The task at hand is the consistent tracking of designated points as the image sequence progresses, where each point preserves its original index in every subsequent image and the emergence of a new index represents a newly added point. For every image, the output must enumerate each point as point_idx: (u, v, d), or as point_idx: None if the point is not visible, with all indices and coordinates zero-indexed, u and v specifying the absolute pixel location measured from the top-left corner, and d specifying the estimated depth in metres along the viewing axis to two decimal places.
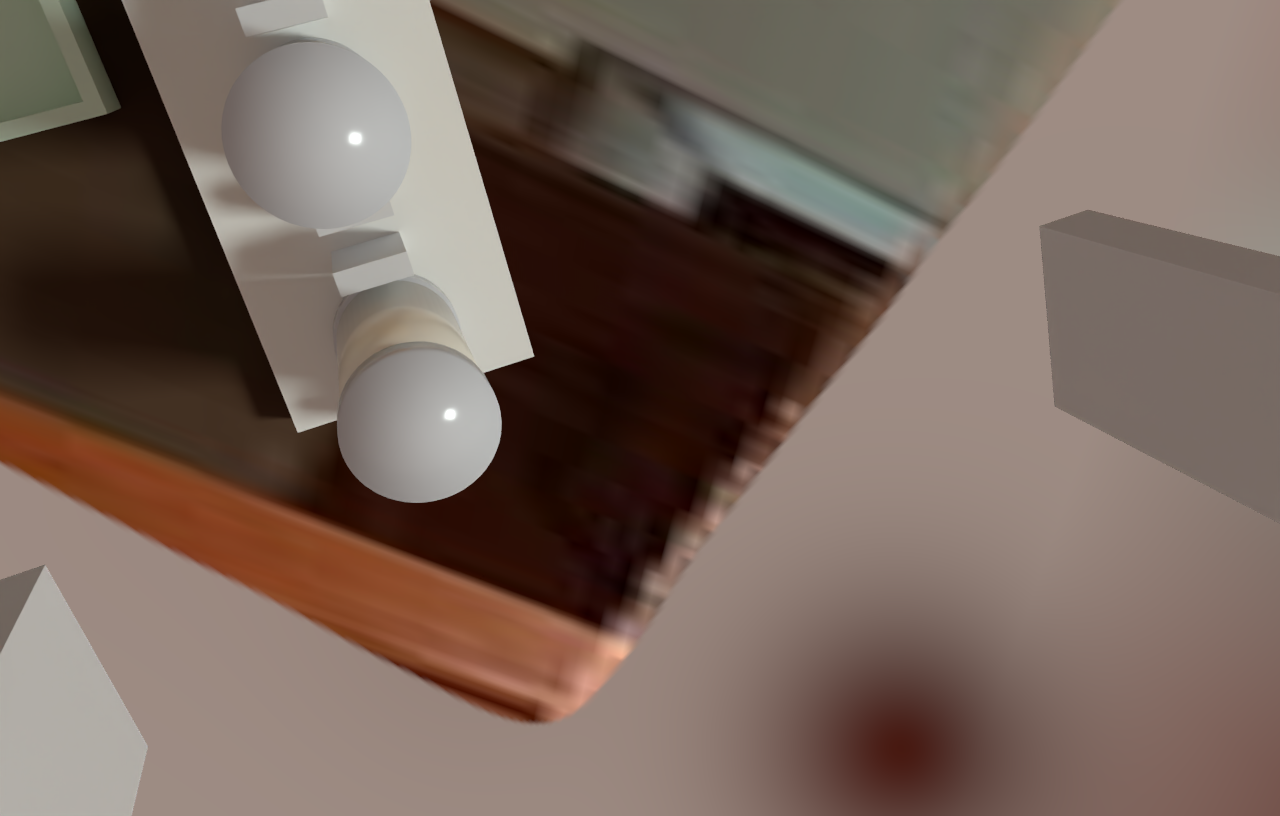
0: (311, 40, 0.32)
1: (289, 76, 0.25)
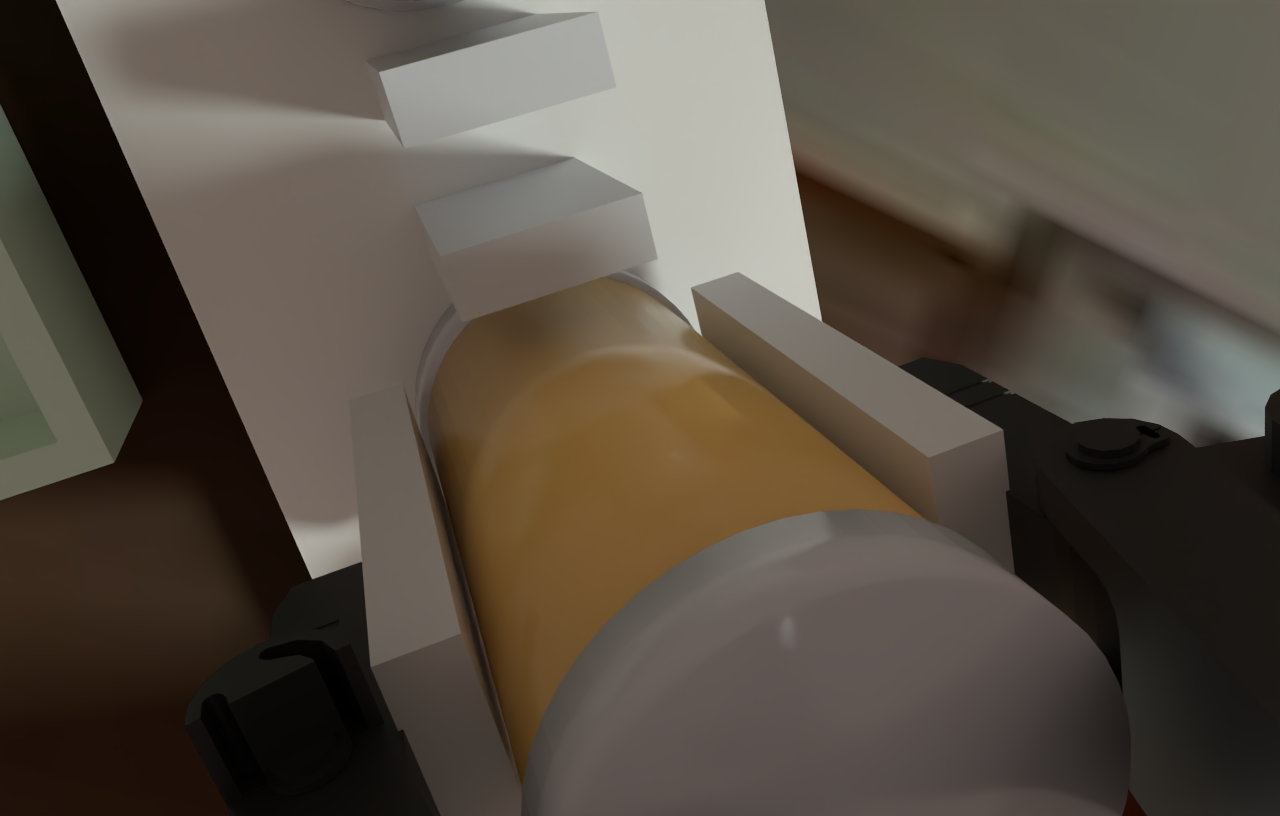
0: None
1: (801, 699, 0.07)
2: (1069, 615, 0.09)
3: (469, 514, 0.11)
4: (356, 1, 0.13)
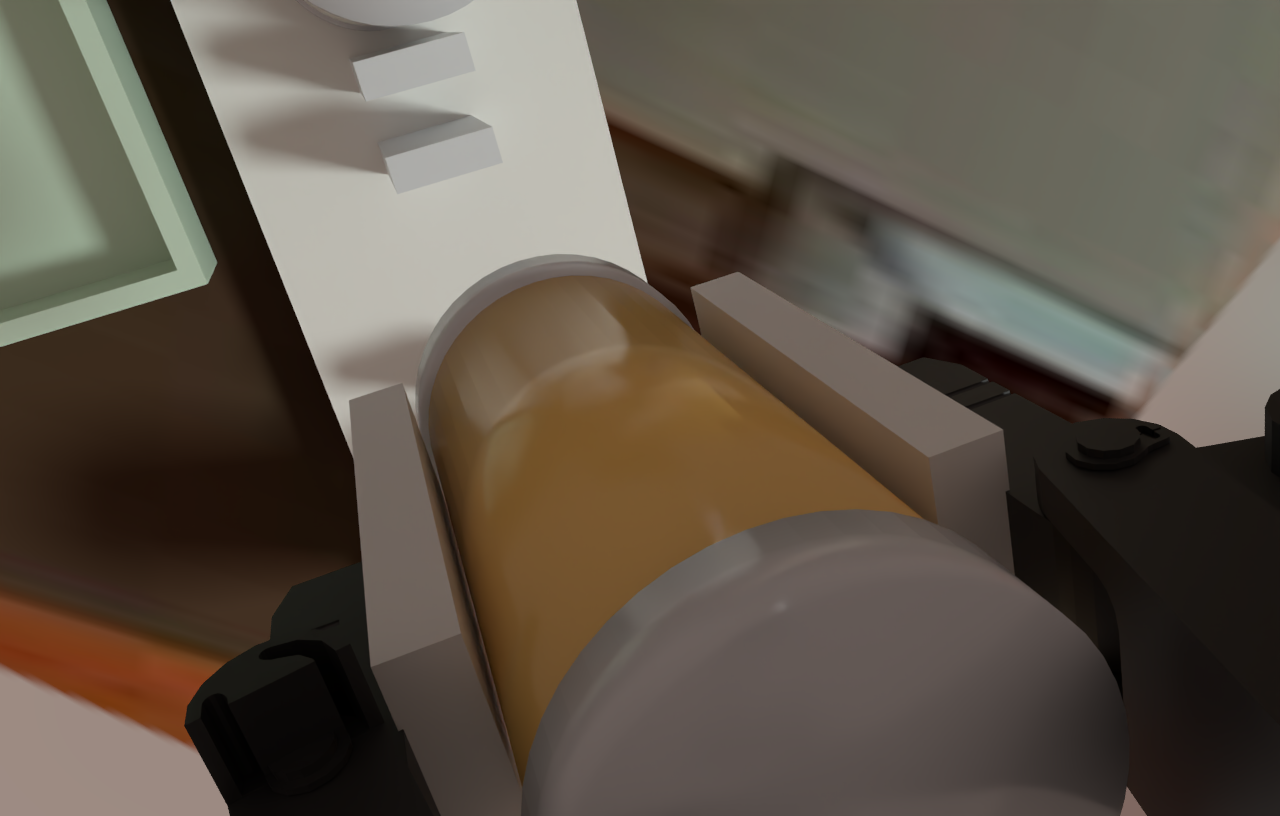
0: (568, 274, 0.15)
1: (801, 698, 0.07)
2: (1069, 615, 0.09)
3: (469, 514, 0.11)
4: (343, 26, 0.23)
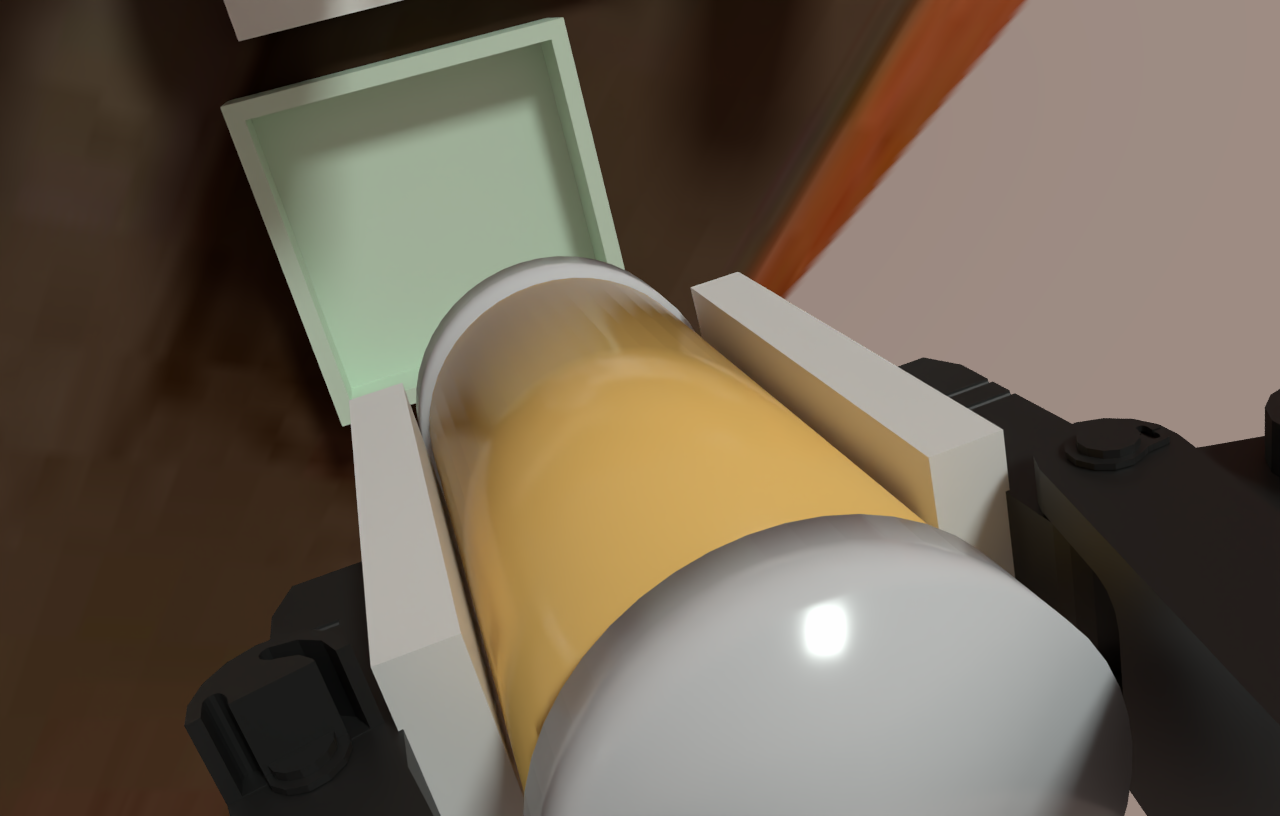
0: (569, 276, 0.15)
1: (803, 703, 0.07)
2: (1069, 615, 0.09)
3: (470, 517, 0.11)
4: None
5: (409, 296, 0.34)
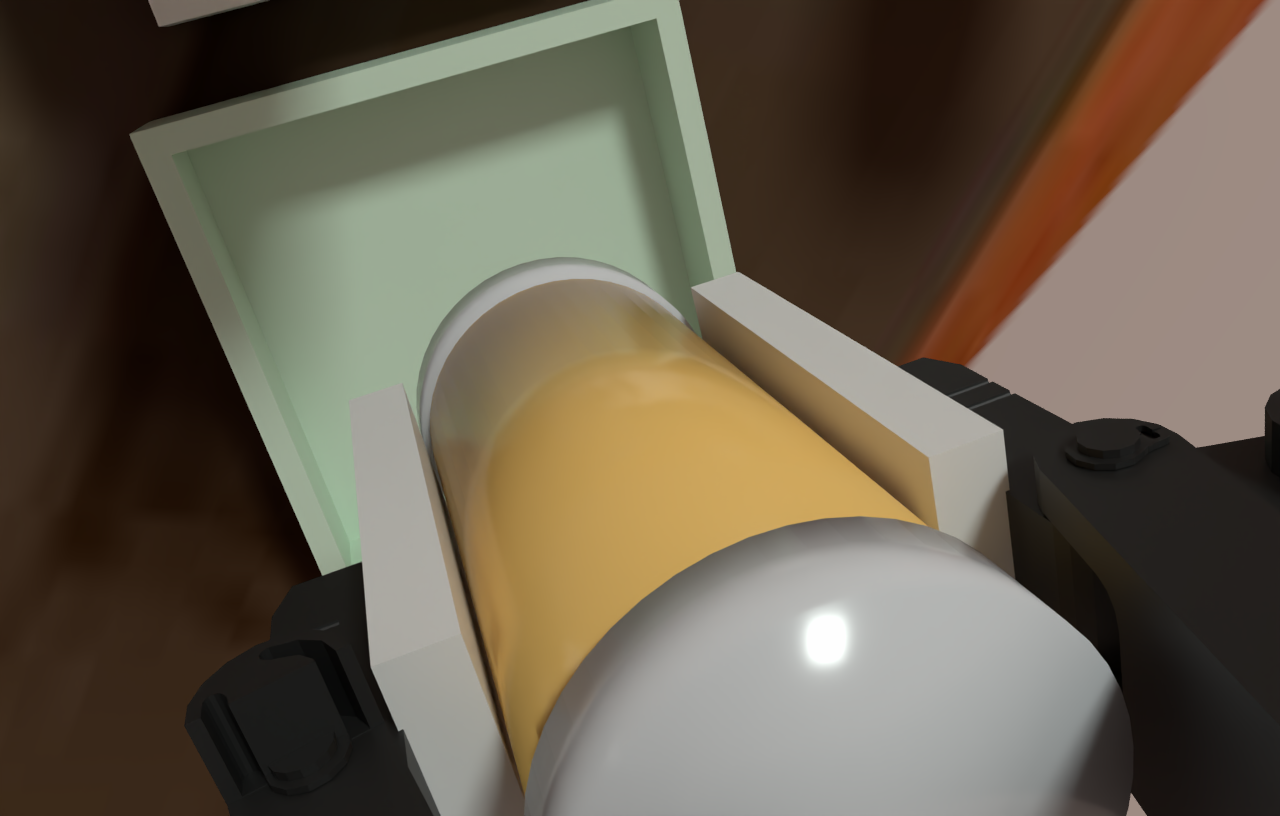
0: (569, 277, 0.14)
1: (804, 706, 0.07)
2: (1069, 615, 0.09)
3: (471, 519, 0.11)
4: None
5: None
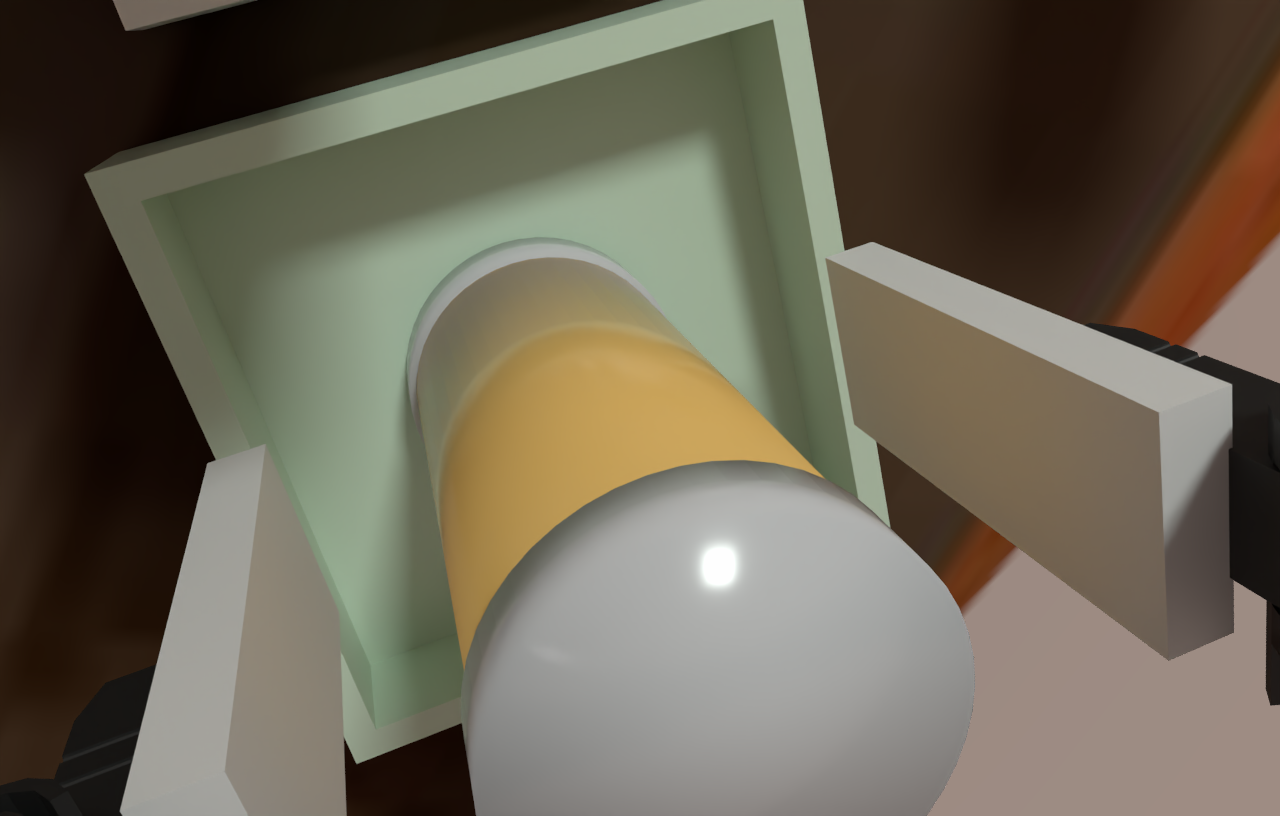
0: (544, 256, 0.16)
1: (681, 610, 0.08)
2: None
3: (440, 468, 0.12)
4: None
5: None
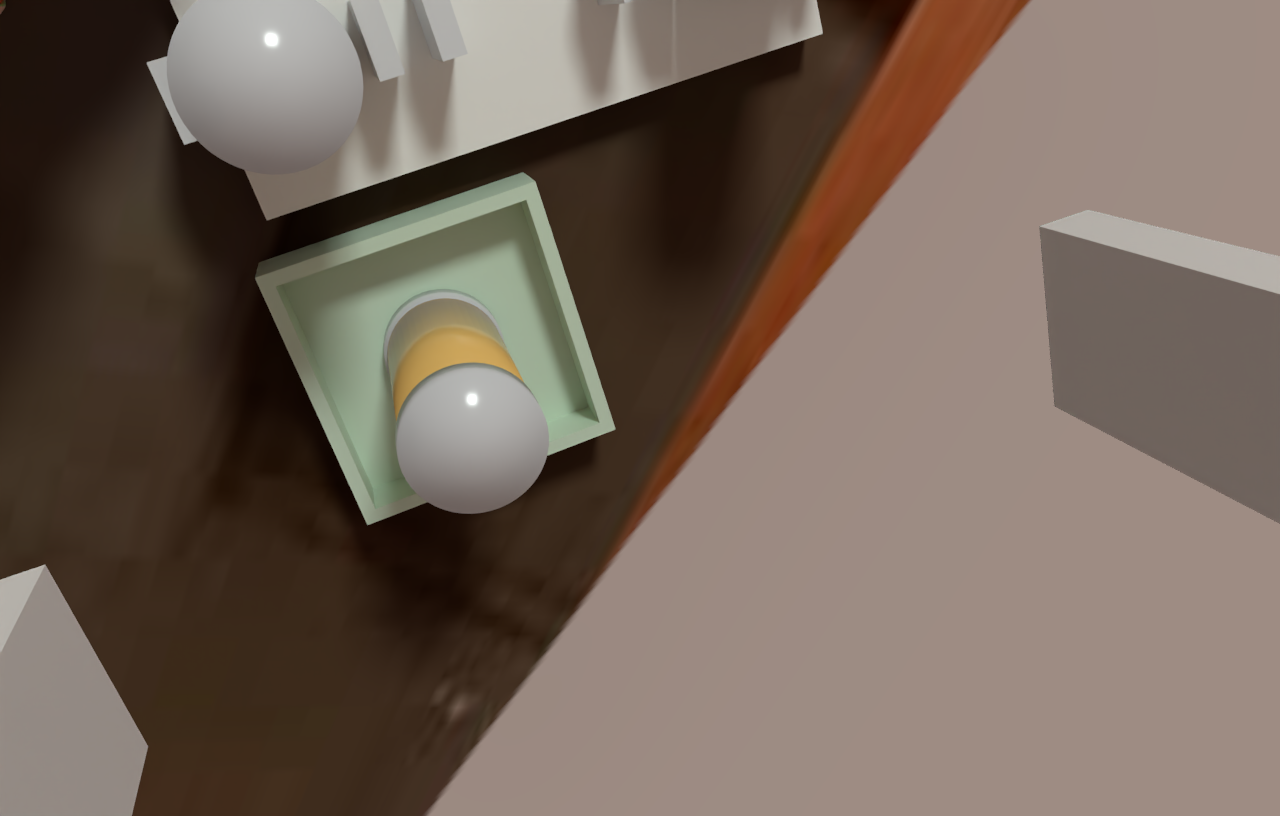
0: (438, 298, 0.37)
1: (450, 401, 0.29)
2: None
3: (393, 381, 0.34)
4: None
5: None
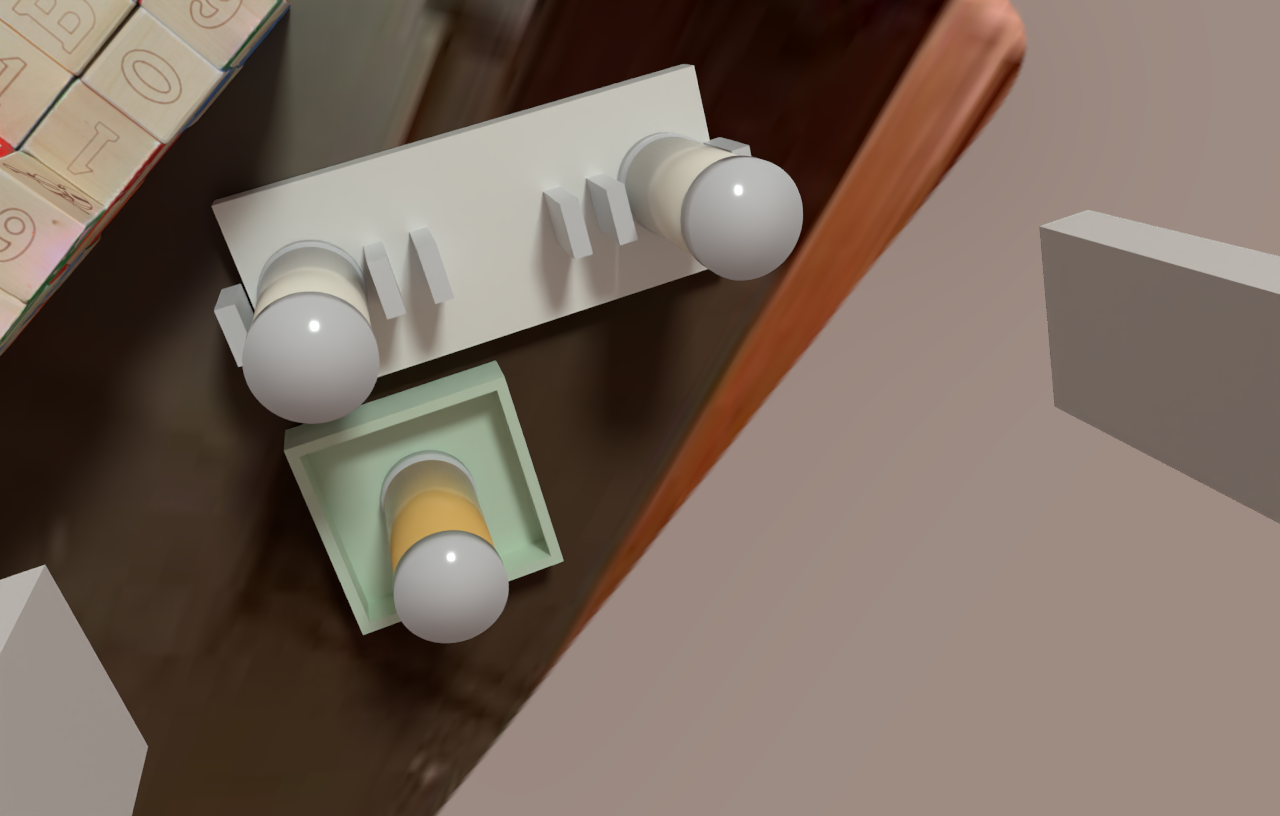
0: (424, 460, 0.48)
1: (434, 562, 0.40)
2: None
3: (389, 534, 0.44)
4: None
5: None
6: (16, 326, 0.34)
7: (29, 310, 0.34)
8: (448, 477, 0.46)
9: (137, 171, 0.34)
